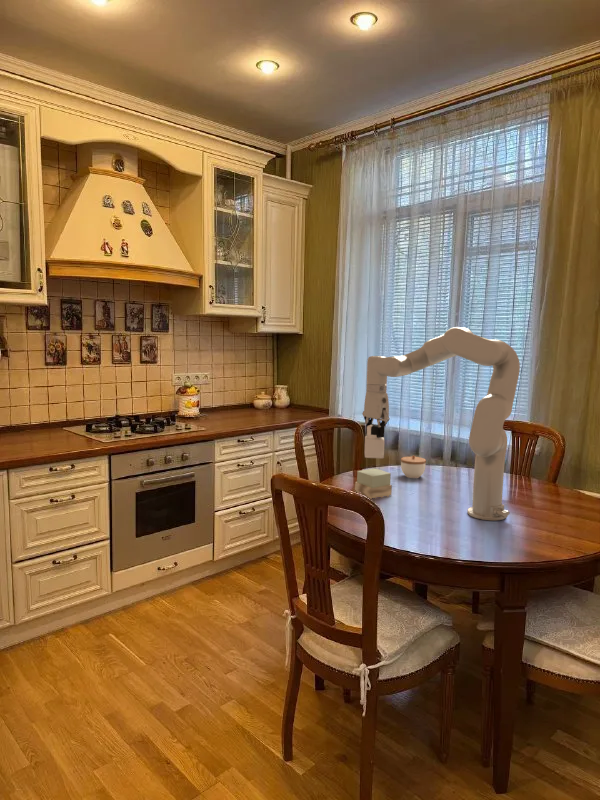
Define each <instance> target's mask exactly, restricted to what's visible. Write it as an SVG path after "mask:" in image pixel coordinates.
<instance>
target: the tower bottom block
mask: <svg viewBox="0 0 600 800" xmlns="http://www.w3.org/2000/svg"><path fill="white" fill-rule="evenodd" d="M392 487H393V485H392V484H390V485H386V486H381V487H375V488H371V487H368V486H365V485H363V484H360V483H357V481H355V482H354V493H355V492H357V493H359V492H361V493H360V494H362V495H365V496H367V497H368V498H367V499H369V498H370V499H369V500H373V499H372V498H375V499H377V498H376V497H381V498H384V497H383V496H387V497H390V496H389V495H391V496H392V493H393V492H392V491H393V490H392V489H393V488H392ZM355 490H356V491H355ZM357 493H356V494H357ZM360 494H359V495H360ZM362 495H361V496H362Z"/></svg>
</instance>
